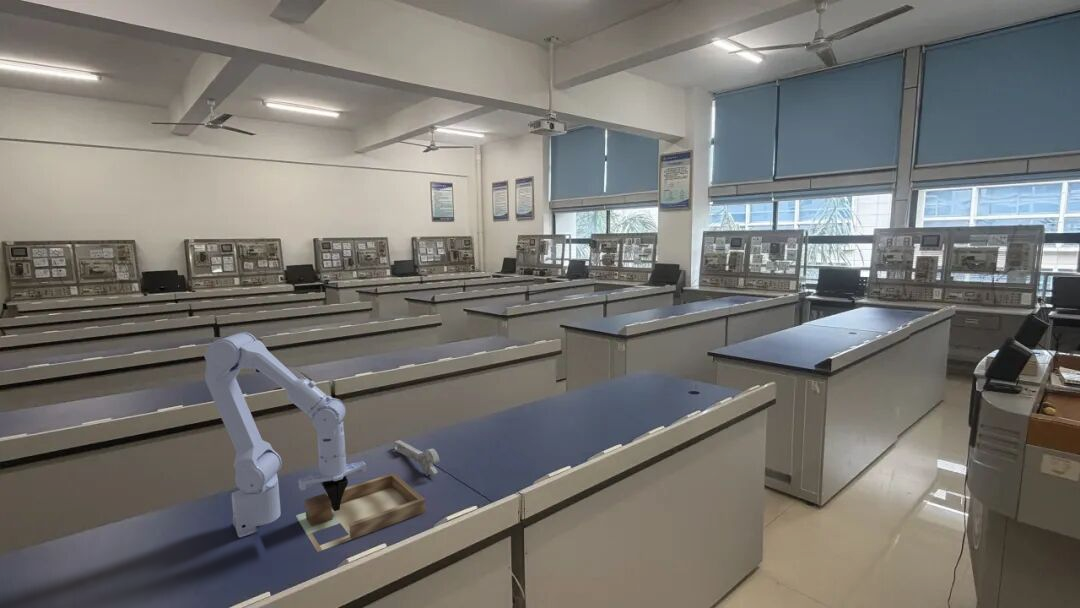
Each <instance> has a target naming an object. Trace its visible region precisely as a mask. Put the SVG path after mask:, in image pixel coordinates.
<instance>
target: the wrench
mask: <svg viewBox="0 0 1080 608" xmlns="http://www.w3.org/2000/svg"><path fill="white" fill-rule="evenodd" d="M393 448H394V450H395V452H398V453H399V454H402V455H403V456H405V457H407V458H409V459H411V460H413V461H415V462H416V463H418V464H419V465H420V467H421V468H422V470H423V471H424V474H425V477H426V476H427V477H429V476H428V475H430V477H434V476H436V475H437V476H438V472H439V471H438V470H437V469H436V467H435V466H434V464H437V463H440V461H441V460H440V456H439V454H438V452H437V451H436V449H435V448H429V449H426V450H425V451H421V450H420V449H418V448H415V447H414V446H412V445H411V444H408V443H406V442H404V441H403V440H401V439H399V440H395V441H393Z"/></svg>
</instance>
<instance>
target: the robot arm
mask: <svg viewBox="0 0 1080 608" xmlns="http://www.w3.org/2000/svg"><path fill="white" fill-rule="evenodd" d="M203 356H204V359H205V361H206V363H205V375H204V380H205V383H206V386H207V388H208V391H209V392H210V395H211V397H212V400H213V401H214V404H215V407H216V408H217V411H218V413H219V416H220V418H221V420H222V422H223V424H224V427H225V430H226V432H227V434H228V436H229V438H230V440H231V442H232V445H233V447H234V450H235V458H234V461H233V468H234V471H235V477H234V481H235V484H236V487H237V488H238V489H239V490H237V491H234V492H232V493H231V505H232V524H233V526H234V528H235V529H234V530H235V531H236V535H237V537H238V538H243V537H246V536H249V535H252V534H256V533H258V532H259V530H258V528H257V527H260V526H265V525H268V524H270V523H273V522H274V521H277V520H278V519H279V517H281V514H282V513H281V501H280V487H279V478H278V472H279V471H280V469H281V468H282V465H283V464H282V457H281V455H279V453H277V452H276V451H275V450H274V448H273V447H272V445H271V443H269V442H267V441H266V440H263V438H262V436H261V434H260V432H259V429H258V427H257V425H256V422H255V420H254V417H253V415H252V413H251V411H250V409H249V405H248V404H247V400H246V399H245V397H244V395H243V392H242V389H241V387H240V385H239V382H238V380H237V376H238V375H239V374H240V373H239V372H240V371H241V370H242V369H245V370H247V369H255V370H257V371H259V372H260V373H262V374H263V375H264V376H266V377H267V378H269V380H271V381H273V382H274V383H275V384H277V385H279V386H280V387H282V389H284V390H285V391H286V399H287V400H288V401H290V402H291V403H292V404H294V406H296V407H297V408H299V409H300V410H301V411H302V412H303V413H304V414H306V415H308V417H310V418H312V419H311V420H310V421H311V424H312V426H313V427H314V428H315V429H316V431H317V433H316V435H317V438H316V439H317V448H318V450H317V451H318V467H319V470H318V471H316V472H314V473H312V474H309V475H307V476H305V477H302V478H299V479H298V487H299V488H298V489H299V490H300V491H305V490H307V488H310V487H314V486H317V485H320V484H321V486H322V487H323V489H324V491H325V493H326V494H328V497H329V499H330V500H331V505H332V509H333V510H334V511H337V510H340V503H341V499H342V496H343V493H344V491H345V488H346V487H348V486H349V485H348V484H349V480H348V478H347V477H348V476H351V475H355V474H359V473H366V472H367V464H366V463H365V462H364V460H362V461H359V462H353V463H347V455H346V454H347V453H346V439H345V438H346V437H345V428H344V421H343V419H344V418H345V416H346V413H347V408H346V406H345V403H343V402H342V400H341V399H339V398H335V397H332V396H331V395H327V394H326V392H324V391H322V390H321V389H320V388H319V387H318V386H316V385H317V382H316V381H314V380H310V379H308V378H298V377H297V376H296V375H295V374H294V373H293V372H291V370H290V369H288V368H287V367H286V365H284V363H282V362H281V361H280V360H279V359H277V357H275V355H274V354H272V353H271V352H270V351H269V350H268V349H267V347H266V346H265V344H264V343H263V342H262V341H261V340H259V339H256V337H255V336H254V335H253V334H252V333H249V332H247V331H239V332H237V333H235V334H233V335H229V336H227V337H223V338H219V339H216V340H214V341H213V342H211V344H210V345H209V346H208V347H207V349H206V351H205V353H204V354H203Z"/></svg>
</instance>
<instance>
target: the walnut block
mask: <svg viewBox="0 0 1080 608" xmlns="http://www.w3.org/2000/svg"><path fill="white" fill-rule="evenodd" d="M326 494H327V493H326V492H325V493H321V494H318V495H316V496H312V497H309V498H306V499H304V509H305V512H306V519H307V520H308V522H309V523H310V525H311V526H315V525H318V524H320V523H323V522H326V521H329V520H332V507H331V500H330V499H329V497H328V496H327V495H326Z"/></svg>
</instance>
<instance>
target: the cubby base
mask: <svg viewBox="0 0 1080 608" xmlns="http://www.w3.org/2000/svg"><path fill="white" fill-rule="evenodd" d="M325 494H326V495H327V496H328V494H327V493H325ZM331 507H332V505H331ZM424 513H426V499H425V497H423V496H422V495H420V494H419V493H418V492H417V491H416V490H415V489H413V488H412V487H411V486H410V485H409V484H408V483H407V482H406V481H404V480H403V479H402V478H401V477H400V476H399V475H397V474H396V473H395V472H392V473H389V474H386V475H382V476H379V477H377V478H373V479H370V480H366V481H364V482H359V483H357V484H353V485H351V486H350V485H349V486H346V488H345V491H344V493H343V496H342V499H341V503H340V510H337V511H334V510H333V509H332V520H329V521H326V522H323V523H320V524H318V525H315V526H311V525H310V523H309V522H308V520H307V519H306V511H305V512H302V513H299V514H296V515H295V517H296V518H297V521H298V522H299V524H300V525H301V528H303V529H302V530H304V532H305V534H306V537H308V539H309V541H310V543H311V544H312V546H313V547H314V549H315V551H316V552H317V553H319V552H322V551H324V550H327V549H330V548H332V547H334V546H338V545H340V544H343V543H346V542H349V541H351V540H354V539H357V538H359V537H361V536H365V535H367V534H369V533H372V532H373V533H374V532H376V531H378V530H381V529H383V528H386V527H390V526H391V525H394V524H398V523H400V522H402V521H403V522H404V521H405V520H407V519H411V518H413V517H416V516H419V515H422V514H424ZM339 524H340V526H342V528H343V529H344V530H345V532H346V533H347V535H344V536H342V537H340V538H336V539H333V540H332V541H329V542H326V543H323V544H319V542H318V541H317V539H316V537H315V535H314V533H316V532H320V531H322V530H325V529H328V528H331V527H333V526H336V525H339Z"/></svg>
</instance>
